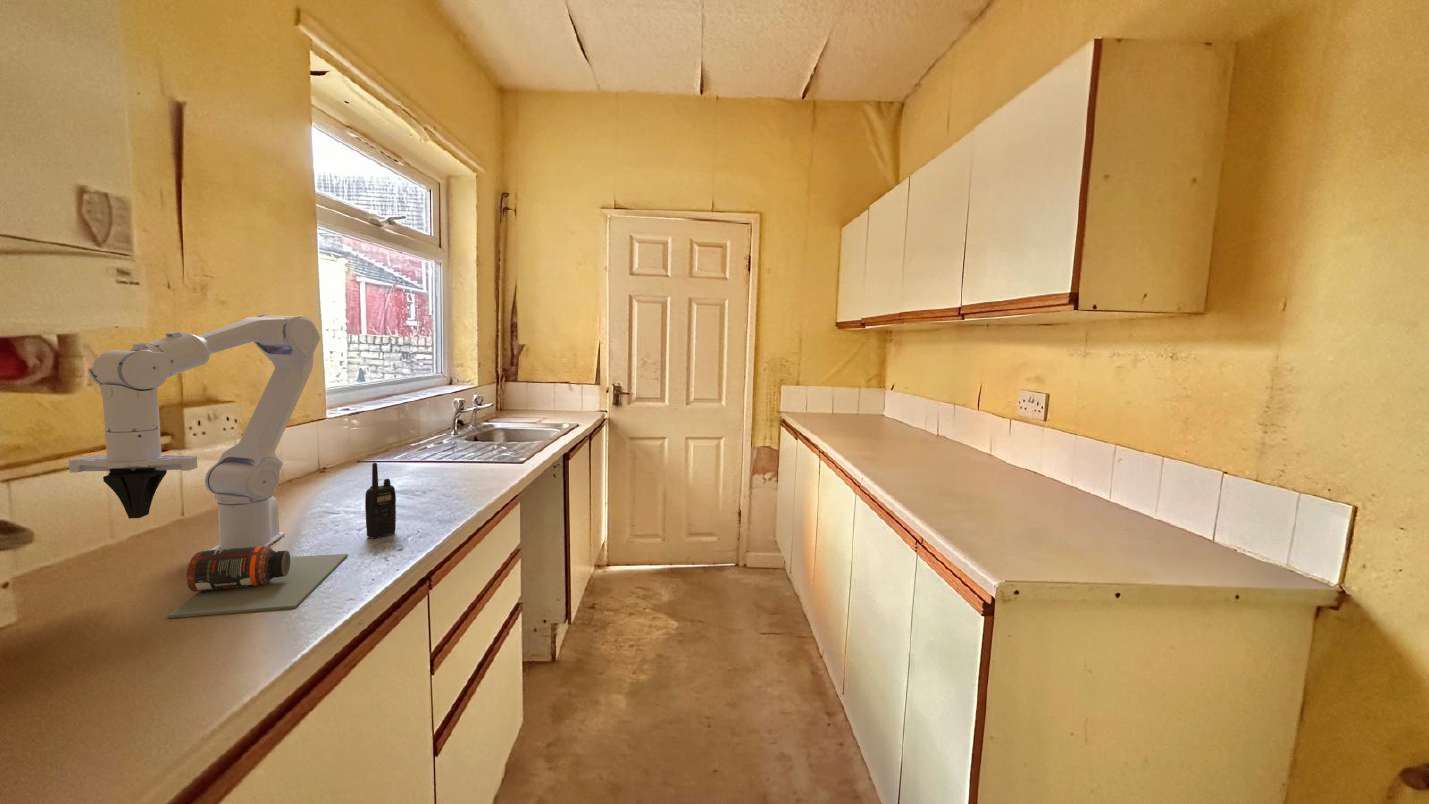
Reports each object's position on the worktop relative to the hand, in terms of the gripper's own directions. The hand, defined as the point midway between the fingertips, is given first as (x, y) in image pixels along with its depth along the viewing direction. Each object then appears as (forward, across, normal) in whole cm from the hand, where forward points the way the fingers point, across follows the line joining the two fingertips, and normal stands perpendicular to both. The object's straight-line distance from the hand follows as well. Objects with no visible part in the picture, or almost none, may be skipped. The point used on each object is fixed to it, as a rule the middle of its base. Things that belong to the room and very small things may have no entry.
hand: (138, 516), depth 84 cm
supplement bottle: (+7, +10, -6) cm, 14 cm away
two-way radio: (+11, +28, +17) cm, 34 cm away
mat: (+10, +18, -4) cm, 22 cm away
